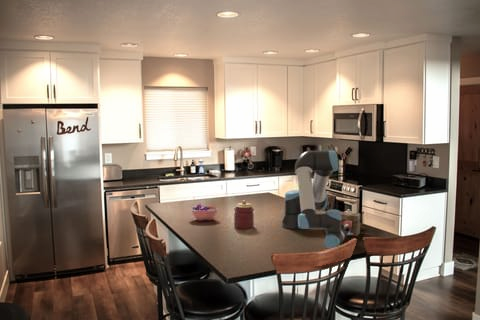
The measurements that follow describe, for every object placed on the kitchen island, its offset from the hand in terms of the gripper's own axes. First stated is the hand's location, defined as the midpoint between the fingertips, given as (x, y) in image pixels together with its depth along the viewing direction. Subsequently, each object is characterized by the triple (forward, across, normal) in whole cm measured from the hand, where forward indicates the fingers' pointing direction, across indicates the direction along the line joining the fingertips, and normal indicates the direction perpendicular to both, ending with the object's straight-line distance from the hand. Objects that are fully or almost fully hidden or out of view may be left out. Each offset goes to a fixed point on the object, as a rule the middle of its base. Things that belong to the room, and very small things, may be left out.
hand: (347, 226), depth 256 cm
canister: (-4, -65, -7) cm, 66 cm away
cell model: (+2, -98, -7) cm, 98 cm away
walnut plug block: (+10, -5, -7) cm, 14 cm away
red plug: (+7, 0, -2) cm, 7 cm away
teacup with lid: (+26, -3, -7) cm, 27 cm away
